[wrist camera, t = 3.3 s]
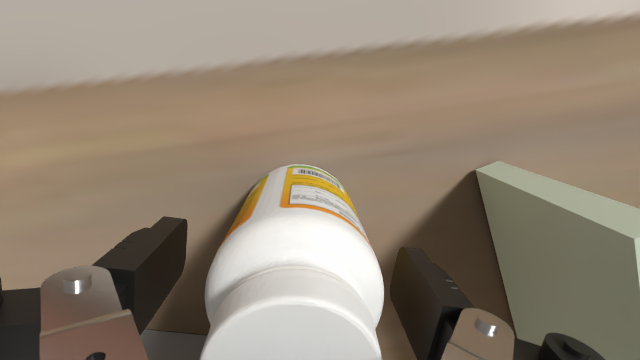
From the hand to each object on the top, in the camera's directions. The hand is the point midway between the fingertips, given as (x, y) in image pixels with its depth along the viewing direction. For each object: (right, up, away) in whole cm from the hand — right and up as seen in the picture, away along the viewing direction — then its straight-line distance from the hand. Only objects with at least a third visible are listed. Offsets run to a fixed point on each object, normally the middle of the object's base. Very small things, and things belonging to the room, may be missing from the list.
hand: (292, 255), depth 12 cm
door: (+12, -2, +5) cm, 13 cm away
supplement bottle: (0, +1, +4) cm, 5 cm away
